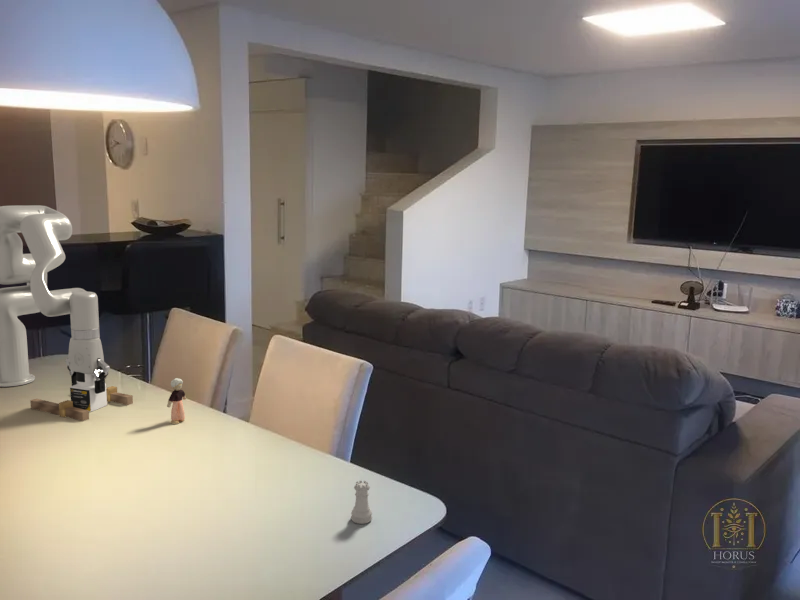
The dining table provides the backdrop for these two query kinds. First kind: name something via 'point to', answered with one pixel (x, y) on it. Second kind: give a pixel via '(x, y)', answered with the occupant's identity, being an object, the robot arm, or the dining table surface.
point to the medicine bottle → (87, 393)
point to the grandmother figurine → (177, 402)
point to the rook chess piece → (361, 504)
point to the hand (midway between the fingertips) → (88, 389)
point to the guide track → (76, 413)
